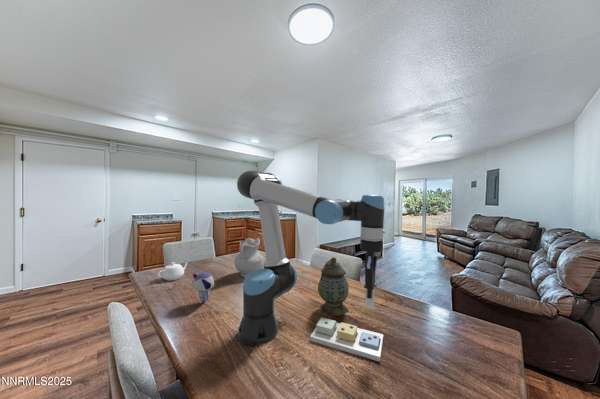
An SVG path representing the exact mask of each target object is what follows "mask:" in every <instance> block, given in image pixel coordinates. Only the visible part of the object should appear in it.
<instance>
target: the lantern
mask: <svg viewBox="0 0 600 399" xmlns="http://www.w3.org/2000/svg"><path fill="white" fill-rule="evenodd" d="M320 271H321V274H320V275H321V276H320V278H319V281H318V284H317V292H318V294H319V297H321V299H322V300H323V301H324V303H323V304H322V305H321V306H320V309H321V311H322V312H323V313H324V314H327V315H330V316H342V315H345V314H347V313H349V312H350V310H349V308H348V306H346V305H345V304H344V303H343V302H345V301H346V300H347V299H348V295H349V282H348V280H347V278H346V276H345V275H346V274H347V272H346V270H345V269H344V268H343V267H342V265H341V264H340V263H339V262H337V259H336V257H331V259H330V260H328V261H326V263H324V267H323V268H321V270H320Z"/></svg>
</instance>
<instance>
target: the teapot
mask: <svg viewBox="0 0 600 399" xmlns="http://www.w3.org/2000/svg"><path fill="white" fill-rule="evenodd" d="M188 264H189V262H188V261H187V262H185V264H184V266H182V265H181V264H179V263H176V261H174V262H173V261H171V264H168V265H166V266H165V267H164V268H163V269H162V270H160V271H158V272H157V276H158V277H159V278H160V279H163V280H164V281H166V280H167V282H173V281H176V280H177V281H178V280H180V279H181V278H182V277H183V276H184V275H185V270H186V268H187V266H188ZM172 280H173V281H172Z"/></svg>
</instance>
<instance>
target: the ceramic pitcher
mask: <svg viewBox="0 0 600 399" xmlns="http://www.w3.org/2000/svg"><path fill="white" fill-rule="evenodd" d="M260 243H261V241H260V238H259V237H256V238H255V239H254V238H251V237H248V238H245V240H242V241H240V242H239V248H238V249H239V254H238V255H237V256H236V257H235V258H234V261H233V262H234V267H235V269H236V270H237V271H238V272H239V273H240V277H242V278H245V276H246V275H247V274H248V273H249V272H251V271H254V270H259V269H263V267H264V264H265V260H264V256H263V255H262V254H260V252H259V250H258V249H259V247H260Z"/></svg>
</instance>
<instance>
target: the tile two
mask: <svg viewBox="0 0 600 399" xmlns="http://www.w3.org/2000/svg"><path fill="white" fill-rule="evenodd" d="M357 328H358V326H357V325H354V324H350V323H346V322H340V326H339V328H338V330H337V338H341V339H344V340H348V341H351V342H354V340H355V337H356V334H357Z"/></svg>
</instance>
